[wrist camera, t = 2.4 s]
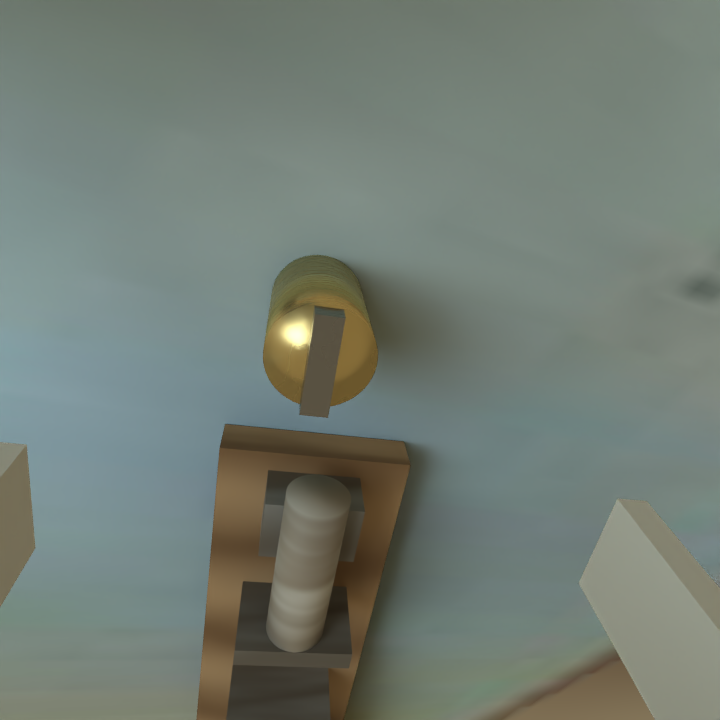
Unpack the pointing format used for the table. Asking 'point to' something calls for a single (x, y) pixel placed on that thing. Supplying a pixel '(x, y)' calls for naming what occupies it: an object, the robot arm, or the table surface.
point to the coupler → (318, 335)
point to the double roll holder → (294, 570)
